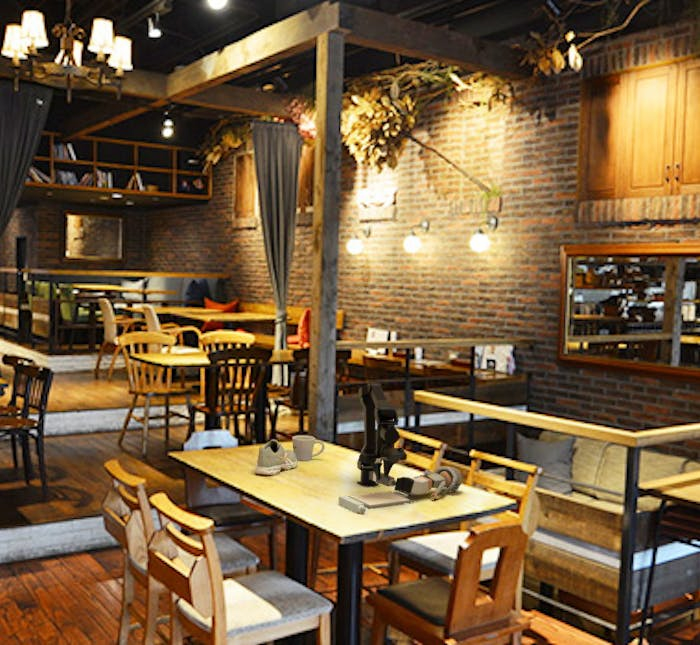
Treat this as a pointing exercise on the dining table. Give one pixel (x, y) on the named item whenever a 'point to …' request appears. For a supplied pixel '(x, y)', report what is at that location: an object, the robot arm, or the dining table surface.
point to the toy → (430, 482)
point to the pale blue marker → (351, 504)
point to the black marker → (382, 479)
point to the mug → (305, 447)
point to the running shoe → (274, 459)
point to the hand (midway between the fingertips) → (382, 479)
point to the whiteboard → (382, 499)
